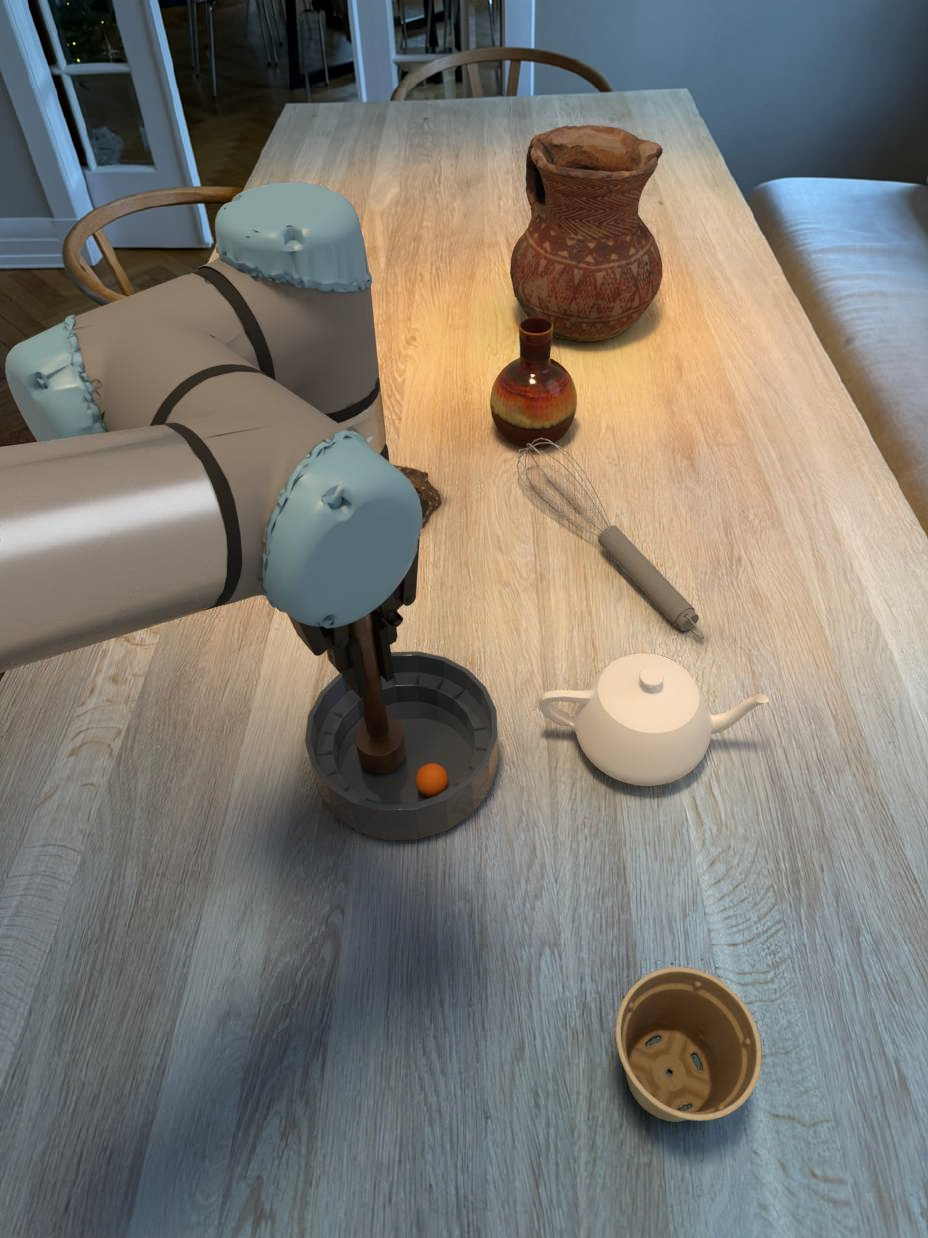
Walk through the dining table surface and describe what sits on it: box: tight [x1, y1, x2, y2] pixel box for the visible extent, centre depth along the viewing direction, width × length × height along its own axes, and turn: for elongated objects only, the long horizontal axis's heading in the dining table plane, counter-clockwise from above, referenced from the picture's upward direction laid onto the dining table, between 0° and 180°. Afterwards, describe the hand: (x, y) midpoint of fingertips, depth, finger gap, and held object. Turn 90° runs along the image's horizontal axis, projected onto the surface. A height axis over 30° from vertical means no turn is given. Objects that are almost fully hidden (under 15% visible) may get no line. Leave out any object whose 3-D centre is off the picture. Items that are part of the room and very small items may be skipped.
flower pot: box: [615, 966, 763, 1123], centre depth 61 cm, size 9×9×9 cm
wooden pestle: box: [348, 612, 406, 774], centre depth 74 cm, size 4×4×21 cm
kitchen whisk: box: [516, 438, 705, 640], centre depth 99 cm, size 6×34×6 cm, turn 30°
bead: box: [415, 763, 449, 797], centre depth 79 cm, size 3×3×3 cm
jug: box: [509, 124, 664, 342], centre depth 125 cm, size 22×21×25 cm
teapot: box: [539, 652, 770, 787], centre depth 80 cm, size 20×12×10 cm, turn 85°
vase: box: [489, 316, 578, 450], centre depth 111 cm, size 11×11×15 cm
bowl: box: [304, 650, 499, 841], centre depth 81 cm, size 17×17×6 cm
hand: (368, 677), depth 73 cm, fingers closed on wooden pestle, 2 cm apart
